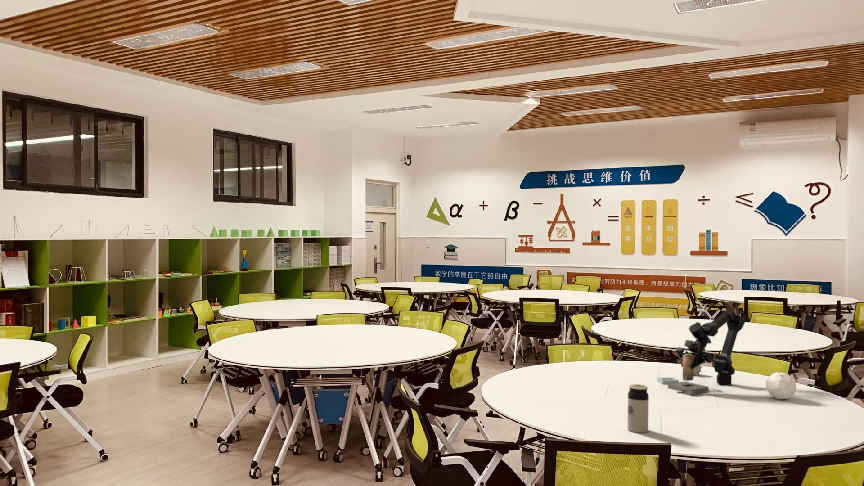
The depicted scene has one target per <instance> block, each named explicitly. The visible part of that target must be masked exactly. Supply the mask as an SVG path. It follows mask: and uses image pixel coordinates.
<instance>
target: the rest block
mask: <svg viewBox="0 0 864 486" xmlns="http://www.w3.org/2000/svg"><path fill="white" fill-rule="evenodd" d="M656 382H658V383H659V384H661V385H668V384H672V383H678V382H680V380H679V379H676V377H656Z"/></svg>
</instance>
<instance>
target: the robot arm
mask: <svg viewBox="0 0 864 486" xmlns="http://www.w3.org/2000/svg"><path fill="white" fill-rule="evenodd" d="M745 323H746V320H745V318H744V316H742V315H737V314H736V313H733V312H732V311H722V313H721V314H719V316H717V317H716V318H715V319H713V320H712V321H710V322H706V323H704V324H701V323H700V322H697V321H696V322H695V323H693V324H691V325H690V326H688V330H689V332H690V333H691V335H692V336H693V338H694V339H695V340H690V339H685V342H684V344H683V345H684V347H680V346H678V347H676V349H675V352H676V354H677V355H678V356H679V358H681V365H680V367H681V368H683V354H692V355H694V362H693V364H692V365H691V369H693V368H695V367H697V366H699V365H700V366H701V365H704V364H706V363H707V364H711V363H712V362H713V368H714V372H715V373H717V375H716V383H717V384H718V385H719V386H728V387H729V386H732V387H733V384H732V378H733V376H732V375H735V372H736V370H735V368H734V366H733V365H732V364H733V359H732V357H731V356H732V354H733V353H732V352H733V350H734V346H735V342H736V340H737V336H738V333H739V332H740V331H741V330H743V328H744V325H745ZM724 325H726V326H727V332H726V336H725V339H724V343H723V345H722V348H721V352H720V354H716V355H715V357H714V361H713V356H712V355H711V353H710V352H709V351H708V352H707V351H706V347H707V345H708V344H710V345H711V344H712V340H711V337H715V336H716V335H717V334H718V332H719V329H720V328H721V327H723V326H724ZM685 347H687V350H686V348H685Z"/></svg>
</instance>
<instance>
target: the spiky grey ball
mask: <svg viewBox="0 0 864 486" xmlns="http://www.w3.org/2000/svg"><path fill="white" fill-rule="evenodd" d="M700 372H701V373H702V366H701V365H699V366H697V367H695V368H694V376H696V375H698V376H700Z"/></svg>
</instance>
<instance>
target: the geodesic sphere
mask: <svg viewBox="0 0 864 486" xmlns="http://www.w3.org/2000/svg"><path fill="white" fill-rule="evenodd" d="M765 387H766V390H767V392H768V394H769V395H770V396H772V397H773V399H776V400H780V399H787V400H789V399H791V398H792V397H794V396H795V394H796V392H797V382H796V381H795V379H794V378H793V377H792V376H791V375H790V374H788V373H786V372H780V371H778V372H776V371H775V372H774V373H773V374H771V375H769V376H768V377H767V379H766V380H765Z"/></svg>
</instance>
